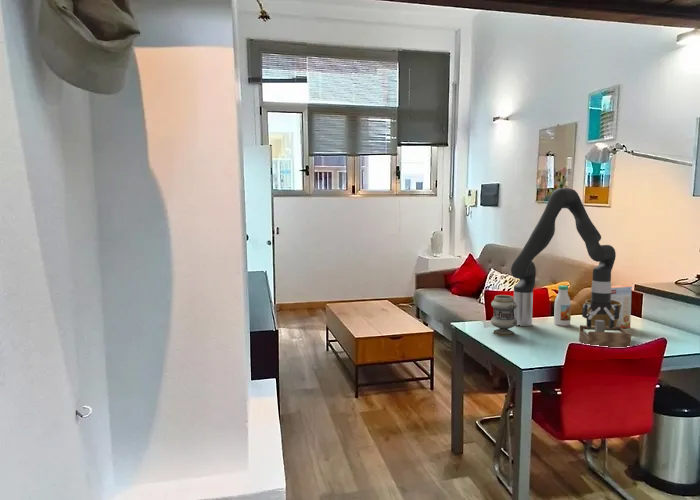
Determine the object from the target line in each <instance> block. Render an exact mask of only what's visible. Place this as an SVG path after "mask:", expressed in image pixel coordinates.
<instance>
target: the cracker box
mask: <svg viewBox="0 0 700 500" xmlns="http://www.w3.org/2000/svg"><path fill="white" fill-rule="evenodd" d="M611 300H615V301H619V302H621V303H622V304H621V309H620V314H619V319H618V321H617V324H616V326H617V327H621V328H623V329H627V328H631V320H632V319H631V315H632V314H631V313H632V286H629V285H624V284H620V285H619V284H617V285H611Z"/></svg>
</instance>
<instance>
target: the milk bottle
mask: <svg viewBox="0 0 700 500" xmlns="http://www.w3.org/2000/svg"><path fill="white" fill-rule="evenodd" d="M568 292H569V286H568V285H563V284H562V285H558V293H557V295H556V297H555V299H554V306H553V307H554V311H553V312H554V314H553V315H554V316H553V323H554V325H556V326H561V327H562V326H563V327H565V326H570V325H571V316H572V315H571V313H572V309H571V308H572V302H571V298H570V296H569V293H568Z"/></svg>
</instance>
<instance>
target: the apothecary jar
mask: <svg viewBox="0 0 700 500" xmlns="http://www.w3.org/2000/svg"><path fill="white" fill-rule="evenodd" d="M490 306H491V307H492V308H493V316H492V317H491V319H490V323H491V325H492V326H494V328H497V329H494V330H493V331H494V332H493V331H492V334H495V335H496V334H497V335H496V336H502V337H511V336H514V335H515V332H514V331H513V330H511V329H512V328H515V327H516V326H518V325H517V320H516V319H515V318H514V309H515V308H516V307H517V303H516V302H515V301H514V295H507V294H498V295H495V296H494V299H493V300H492V301H491V302H490Z"/></svg>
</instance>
